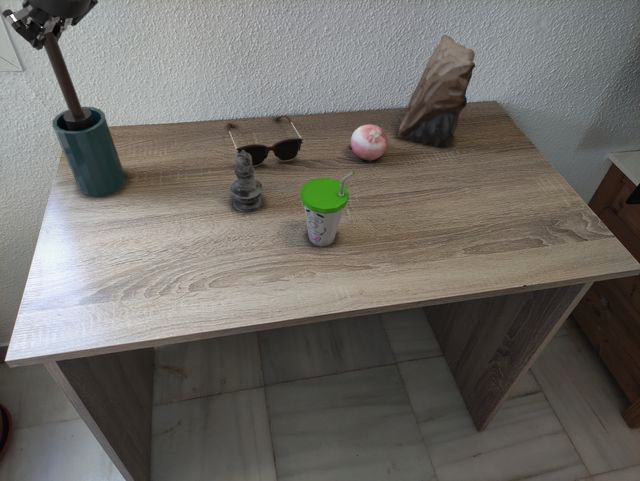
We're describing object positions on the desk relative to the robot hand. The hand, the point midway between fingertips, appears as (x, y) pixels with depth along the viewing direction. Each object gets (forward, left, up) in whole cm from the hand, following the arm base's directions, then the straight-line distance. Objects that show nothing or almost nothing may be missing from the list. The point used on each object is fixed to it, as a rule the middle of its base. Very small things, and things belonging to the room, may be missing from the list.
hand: (42, 41), depth 72 cm
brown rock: (+70, -5, -27) cm, 75 cm away
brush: (+1, -2, -18) cm, 18 cm away
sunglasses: (+34, +2, -27) cm, 44 cm away
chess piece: (+26, -16, -27) cm, 41 cm away
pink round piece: (+54, -9, -27) cm, 61 cm away
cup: (+36, -29, -27) cm, 54 cm away
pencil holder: (+1, -2, -27) cm, 27 cm away
